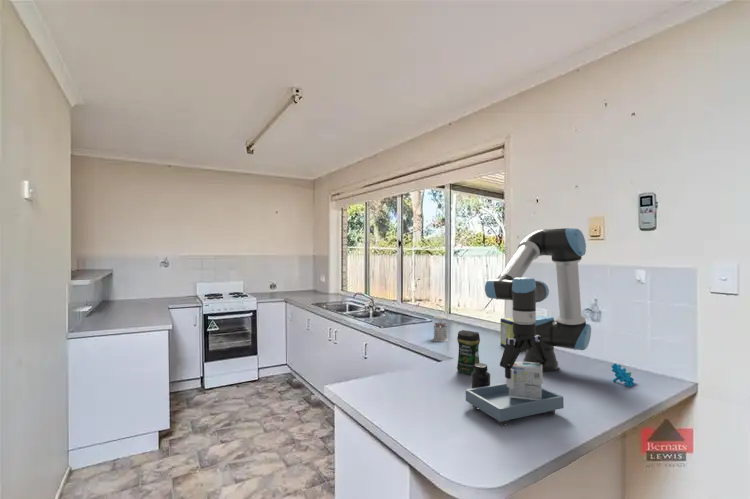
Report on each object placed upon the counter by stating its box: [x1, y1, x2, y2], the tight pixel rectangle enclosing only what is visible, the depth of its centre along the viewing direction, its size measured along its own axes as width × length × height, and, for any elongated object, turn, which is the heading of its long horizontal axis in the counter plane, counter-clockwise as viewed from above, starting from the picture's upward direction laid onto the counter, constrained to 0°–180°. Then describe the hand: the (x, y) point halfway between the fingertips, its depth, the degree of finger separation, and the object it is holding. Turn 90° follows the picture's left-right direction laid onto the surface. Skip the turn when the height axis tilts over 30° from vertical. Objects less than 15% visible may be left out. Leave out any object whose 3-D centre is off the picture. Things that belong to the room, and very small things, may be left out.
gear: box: [610, 363, 635, 388], centre depth 159 cm, size 11×6×10 cm
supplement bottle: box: [470, 362, 491, 389], centre depth 145 cm, size 7×7×12 cm
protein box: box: [499, 317, 514, 348], centre depth 218 cm, size 10×16×16 cm
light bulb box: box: [509, 360, 543, 399], centre depth 134 cm, size 11×7×11 cm, turn 71°
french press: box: [432, 298, 449, 343], centre depth 238 cm, size 10×12×25 cm
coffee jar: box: [456, 329, 481, 375], centre depth 174 cm, size 10×8×19 cm
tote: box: [465, 382, 564, 426], centre depth 132 cm, size 18×26×6 cm
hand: (524, 385), depth 134 cm, fingers closed on light bulb box, 12 cm apart
